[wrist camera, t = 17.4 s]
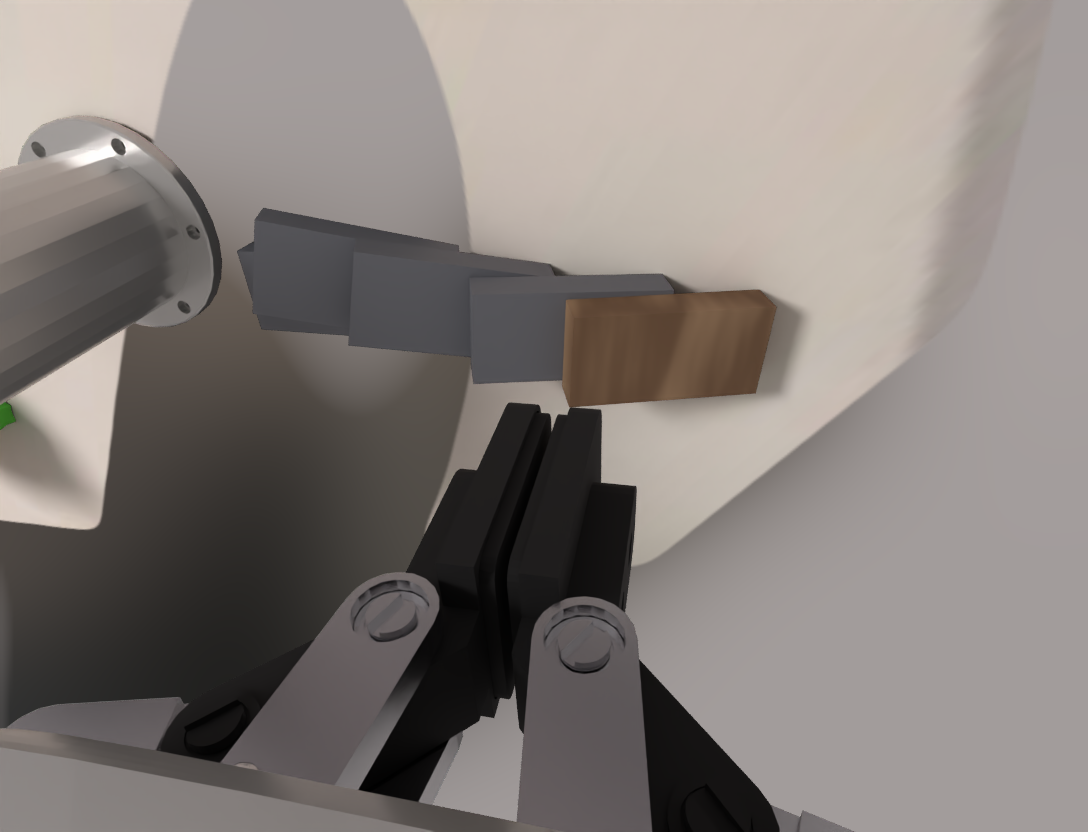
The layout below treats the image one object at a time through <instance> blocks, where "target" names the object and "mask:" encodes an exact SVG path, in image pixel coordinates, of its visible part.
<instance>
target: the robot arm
mask: <svg viewBox="0 0 1088 832" xmlns="http://www.w3.org/2000/svg"><path fill="white" fill-rule="evenodd" d="M221 269H222V258H221V252H220V244H219V240H218V237H217V234H216V231H215V227H214V224H213V221H212V219H211V217H210V215H209V213H208V211H207V209H206V207H205V204H204V202H203V201H202V199H201V198H200V196H199V195H198V193H197V192H196V190H195V189H194V187H193V185H192V184H191V182H190V181H189V180H188V179H187V177H186V176H185V175H184V174H183V173H182V171H181V170H180V169H179V168H178V167H177V166H176V165H175V163H174V162H173V161H172V160H170V159H169V158H168V157H167V156H166V155H165V154H164V153H163V152H162V151H161V150H160V149H158V148H157V147H156V146H155V145H154V144H152V143H151V142H149V141H148V140H146V139H145V138H144V137H142V136H141V135H139V134H138V133H136V132H134V131H132V130H130V129H128V128H126V127H124V126H122V125H120V124H118V123H116V122H113V121H109V120H106V119H102V118H99V117H92V116H72V117H67V118H62V119H57V120H54V121H51V122H49V123H46V124H43V125H41V126H40V127H39V128H38V129H36V130H35V131H34V132H32V133H31V134H30V136H29V137H28V139H27V140H26V142H25V143H24V145H23V146H22V150H21V153H20V157H19V160H18V165H16V166H12V167H9V168H6V169H2V170H0V405H1V404H3V403H4V402H6V401H8V400H9V399H11V398H12V397H14V396H16V395H17V394H19V393H21V392H22V391H24V390H26V389H27V388H29V387H30V386H32V385H34V384H35V383H37V382H39V381H40V380H42V379H43V378H45V377H47V376H48V375H50V374H52V373H53V372H55V371H56V370H58V369H60V368H61V367H63V366H65V365H66V364H68V363H70V362H71V361H73V360H74V359H76V358H78V357H79V356H81V355H83V354H84V353H86V352H87V351H89V350H91V349H92V348H94V347H96V346H97V345H99V344H101V343H102V342H104V341H105V340H107V339H109V338H110V337H112V336H114V335H115V334H117V333H118V332H120V331H122V330H123V329H125V328H127V327H128V326H130V325H131V324H133V323H136V324H140V325H144V326H151V327H172V326H176V325H179V324H181V323H185V322H187V321H189V320H190V319H192V318H193V317H195V316H196V315H198V314H200V313H201V312H202V311H203V310H204V309H205V308H206V307H207V306H209V305H210V303H211V301H212V300H213V298H214V296H215V295H216V293H217V290H218V286H219V283H220V280H221ZM601 436H602V414H601V410H597V409H585V408H572V407H571V408H570V409H569V412H568V415H560V414H559V415H558V416H557V418H556V421H555V424H554V427H553V430H552V433H551V417H550V414H548V413H541V410H540V406H539V405H535V404H522V403H508V404H507V406H506V408H505V410H504V412H503V414H502V417H501V419H500V421H499V423H498V425H497V428H496V430H495V432H494V434H493V436H492V439H491V441H490V443H489V445H488V447H487V449H486V452H485V454H484V456H483V458H482V460H481V463H480V465H479V467H478V469H477V470H468V469H459V470H458V471H457V472H456V473H455V475H454V476H453V478H452V480H451V482H450V484H449V486H448V488H447V490H446V492H445V494H444V496H443V498H442V500H441V503H440V505H439V507H438V509H437V511H436V513H435V515H434V517H433V519H432V521H431V523H430V525H429V527H428V529H427V531H426V533H425V535H424V537H423V539H422V541H421V543H420V545H419V547H418V549H417V551H416V553H415V555H414V557H413V559H412V561H411V563H410V565H409V567H408V569H407V571H406V573H404V572H397V573H388V574H383V575H381V576H378V577H375V578H372V579H370V580H368V581H367V582H365V583H363V584H362V585H360V586H358V587H357V588H356V589H355V590H354V591H353V592H352V593H351V594H350V595H349V596H348V597H347V598H346V600H345V601H344V602H343V604H342V605H341V606H340V608H339V609H338V610H337V611H336V613H335V614H334V615H333V617H332V618H331V619H330V621H329V622H328V623H327V624H326V626H325V627H324V628H323V630H322V631H321V632H320V634H319V635H318V636H317V637H316V639H314V640H312V641H310V642H308V643H306V644H303V645H302V646H300V647H297V648H295V649H294V650H291V651H289V652H287V653H285V654H283V655H281V656H279V657H277V658H275V659H273V660H271V661H269V662H267V663H265V664H262V665H260V666H258V667H256V668H254V669H252V670H250V671H248V672H246V673H244V674H242V675H240V676H238V677H236V678H234V679H232V680H230V681H228V682H225V683H223V684H221V685H219V686H217V687H215V688H213V689H211V690H209V691H207V692H206V693H204V694H202V695H201V696H199V697H198V698H196V699H194V700H193V701H191V702H190V703H189V704H183V702H182V700H181V699H180V697H174V698H158V699H141V700H124V701H109V702H92V703H75V704H59V705H53V706H49V707H44V708H39V709H37V710H35V711H33V712H31V713H29V714H27V715H25V716H23V717H21V718H19V719H18V720H16V721H15V722H14V723H12V724H11V725H10V726H9V727H7V728H6V729H2V728H1V729H0V832H854V831H851V830H849V829H847V828H844V827H842V826H839V825H837V824H834V823H832V822H830V821H827V820H825V819H822V818H820V817H817V816H815V815H813V814H810V813H808V812H805V811H802V814H801V816H800V817H798V816H796V815H793V814H791V813H789V812H786V811H784V810H782V809H779V808H777V807H774V806H772V805H770V804H769V802H768V801H767V799H766V798H765V797H764V795H763V794H762V793H761V791H760V790H759V788H758V787H757V786H756V785H755V784H754V783H753V782H752V781H751V780H750V779H749V778H748V776H747V775H746V774H745V773H744V772H743V771H742V770H741V769H740V768H739V767H738V766H737V765H736V764H735V763H734V761H732V759H731V758H730V757H729V756H728V755H727V754H726V753H725V752H724V751H723V749H721V747H720V746H719V745H718V744H717V743H716V742H715V741H714V740H713V739H712V738H711V737H710V735H709V734H708V733H707V732H706V731H705V730H704V729H703V728H702V727H701V726H700V725H699V724H698V722H697V721H696V720H695V719H694V718H693V717H692V716H691V715H690V714H689V713H688V712H687V711H686V710H685V708H684V707H683V706H682V705H681V704H680V703H679V702H678V701H677V700H676V699H675V698H674V697H673V695H671V693H670V692H669V691H668V690H667V689H666V688H665V687H664V686H663V685H662V684H661V683H660V682H659V680H658V679H657V678H656V677H655V676H654V675H653V674H652V673H651V672H650V671H649V670H648V668H647V667H646V666H645V665H644V664H643V663H642V662H641V661H640V660H639V653H638V640H637V635H636V631H635V628H634V625H633V623H632V622H631V621H630V619H629V617H628V616H627V615H626V613H625V608H626V600H627V593H628V585H629V577H630V570H631V561H632V552H633V542H634V530H635V514H636V493H637V489H636V486H628V485H618V484H608V483H601ZM514 686H515V690H516V699H517V710H518V720H519V728H520V730H521V731H522V733H523V734H524V737H523V750H522V762H521V774H520V775H521V776H520V787H519V799H518V812H517V822H514V821H509V820H504V819H499V818H494V817H489V816H484V815H480V814H474V813H470V812H465V811H460V810H455V809H450V808H445V807H440V806H435V805H432V804H433V802H434V800H435V798H436V796H437V794H438V791H439V789H440V787H441V785H442V783H443V781H444V779H445V777H446V775H447V773H448V771H449V768H450V767H451V764H452V762H453V760H454V758H455V756H456V754H457V752H458V750H459V747H460V744H461V740H462V737H463V730H465V729H467V728H468V727H470V726H472V725H473V724H475V723H476V722H478V721H479V719H480V716H486V717H491V718H494V716H495V713H496V710H497V706H498V703H499V699H500V698H504V699H510V698H511V696H512V693H513V689H514Z"/></svg>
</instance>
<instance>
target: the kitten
mask: <svg viewBox="0 0 1088 832" xmlns="http://www.w3.org/2000/svg"><path fill="white" fill-rule="evenodd" d="M15 421H16V420H15V418H14V416H13V414H12V411H11V405H9V404H7V403H6V402H4V403H3V404H1V405H0V430H1V429H2V428H3V427H5V426H6V425H8V424H10V423H13V422H15Z"/></svg>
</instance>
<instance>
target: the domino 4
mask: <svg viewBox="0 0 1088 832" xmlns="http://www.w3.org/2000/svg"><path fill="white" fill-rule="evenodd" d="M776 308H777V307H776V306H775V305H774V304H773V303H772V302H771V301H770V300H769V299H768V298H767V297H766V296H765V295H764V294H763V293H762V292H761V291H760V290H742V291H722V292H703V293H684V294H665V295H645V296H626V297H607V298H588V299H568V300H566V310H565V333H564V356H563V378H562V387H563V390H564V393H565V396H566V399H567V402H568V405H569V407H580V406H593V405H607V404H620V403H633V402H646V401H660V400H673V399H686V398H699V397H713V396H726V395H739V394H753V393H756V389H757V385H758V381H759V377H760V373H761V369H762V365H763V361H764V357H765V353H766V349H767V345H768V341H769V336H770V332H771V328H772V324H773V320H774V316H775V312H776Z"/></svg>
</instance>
